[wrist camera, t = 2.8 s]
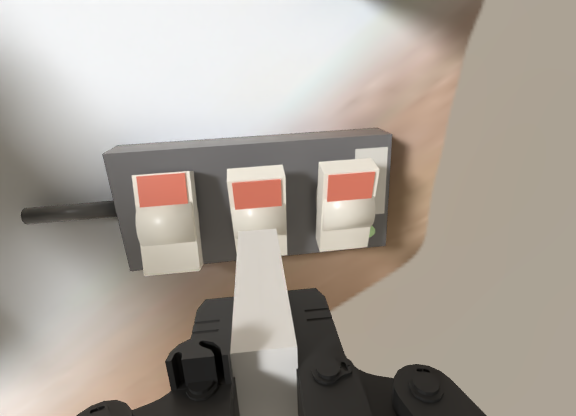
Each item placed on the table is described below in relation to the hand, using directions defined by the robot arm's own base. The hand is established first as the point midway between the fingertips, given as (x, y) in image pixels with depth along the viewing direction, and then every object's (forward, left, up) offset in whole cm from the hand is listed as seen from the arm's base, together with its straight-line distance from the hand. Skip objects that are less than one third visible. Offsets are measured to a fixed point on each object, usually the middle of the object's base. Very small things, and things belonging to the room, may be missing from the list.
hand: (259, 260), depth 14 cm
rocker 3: (+6, -2, -12) cm, 13 cm away
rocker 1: (-6, -3, -12) cm, 13 cm away
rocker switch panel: (-3, -2, -15) cm, 15 cm away
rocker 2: (0, -2, -12) cm, 12 cm away
